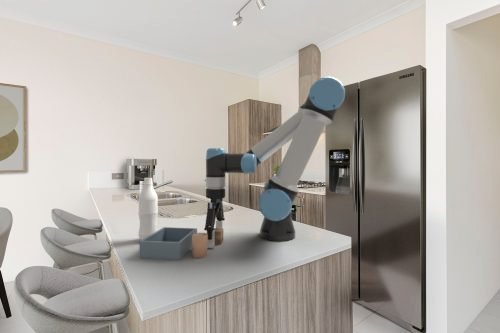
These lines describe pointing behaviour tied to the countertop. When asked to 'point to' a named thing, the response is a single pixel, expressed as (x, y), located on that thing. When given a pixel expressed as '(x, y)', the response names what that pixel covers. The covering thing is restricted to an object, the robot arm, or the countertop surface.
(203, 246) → the capsule
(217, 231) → the cube
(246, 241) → the countertop surface
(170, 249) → the tote
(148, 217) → the water bottle
